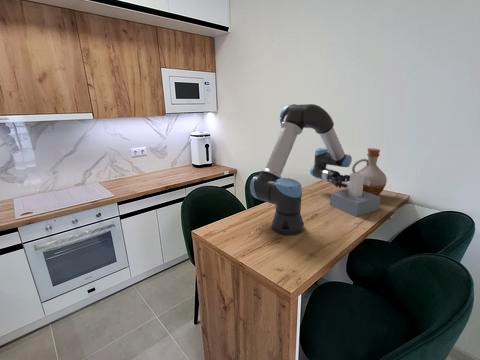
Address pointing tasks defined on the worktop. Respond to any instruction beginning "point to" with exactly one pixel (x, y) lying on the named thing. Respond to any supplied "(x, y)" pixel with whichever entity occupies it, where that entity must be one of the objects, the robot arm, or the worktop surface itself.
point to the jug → (372, 173)
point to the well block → (355, 202)
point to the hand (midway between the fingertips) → (361, 185)
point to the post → (356, 184)
